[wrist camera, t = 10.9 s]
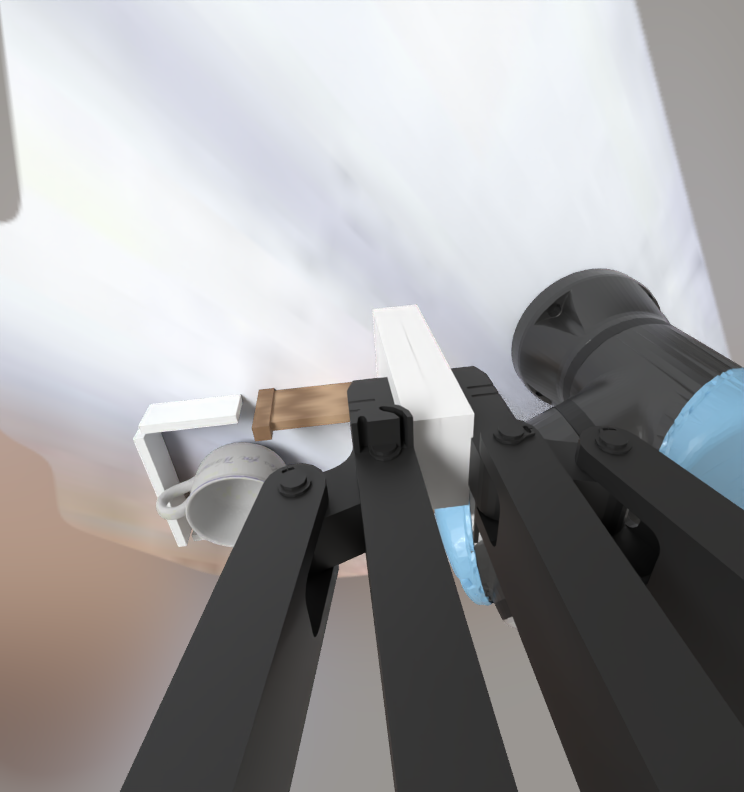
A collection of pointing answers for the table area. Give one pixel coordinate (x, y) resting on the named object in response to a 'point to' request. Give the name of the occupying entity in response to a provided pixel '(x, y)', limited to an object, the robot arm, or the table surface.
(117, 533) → the table surface
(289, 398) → the wooden frame
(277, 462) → the teacup
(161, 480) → the holder
